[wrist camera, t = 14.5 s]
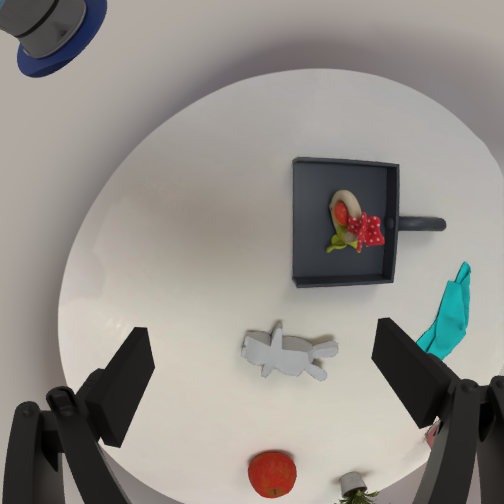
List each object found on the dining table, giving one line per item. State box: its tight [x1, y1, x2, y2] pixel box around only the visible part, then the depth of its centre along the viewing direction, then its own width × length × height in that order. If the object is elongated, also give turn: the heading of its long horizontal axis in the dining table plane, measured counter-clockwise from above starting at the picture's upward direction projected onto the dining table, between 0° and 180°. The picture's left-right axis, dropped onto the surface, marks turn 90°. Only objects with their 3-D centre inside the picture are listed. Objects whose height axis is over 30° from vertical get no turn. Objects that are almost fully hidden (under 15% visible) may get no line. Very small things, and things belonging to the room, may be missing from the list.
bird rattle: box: [327, 190, 385, 253], centre depth 37 cm, size 6×11×9 cm
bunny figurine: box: [241, 323, 338, 381], centre depth 44 cm, size 10×5×15 cm
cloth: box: [416, 262, 471, 360], centre depth 46 cm, size 26×14×2 cm, turn 153°
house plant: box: [334, 472, 379, 504], centre depth 49 cm, size 14×14×16 cm
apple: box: [248, 452, 297, 498], centre depth 48 cm, size 11×11×11 cm
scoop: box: [293, 157, 446, 288], centre depth 41 cm, size 27×18×4 cm
